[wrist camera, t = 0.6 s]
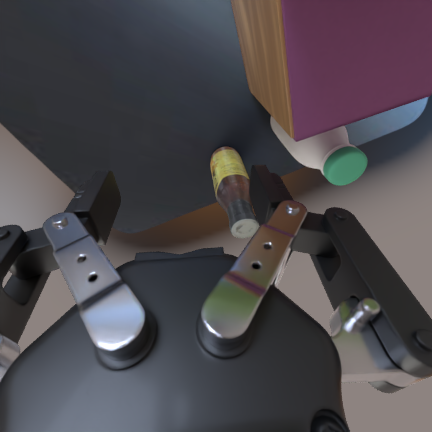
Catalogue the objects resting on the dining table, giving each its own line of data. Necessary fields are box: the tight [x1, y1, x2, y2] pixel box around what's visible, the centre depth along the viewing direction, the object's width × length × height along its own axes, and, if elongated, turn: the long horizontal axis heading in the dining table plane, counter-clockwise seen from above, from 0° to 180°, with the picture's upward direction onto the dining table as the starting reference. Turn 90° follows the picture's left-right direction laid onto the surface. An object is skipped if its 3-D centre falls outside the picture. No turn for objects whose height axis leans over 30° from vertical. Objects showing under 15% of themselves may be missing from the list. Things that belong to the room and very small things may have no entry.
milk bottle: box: [270, 116, 367, 185], centre depth 34 cm, size 8×8×20 cm
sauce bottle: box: [210, 147, 259, 238], centre depth 38 cm, size 6×6×20 cm
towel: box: [281, 0, 432, 142], centre depth 21 cm, size 12×12×10 cm
